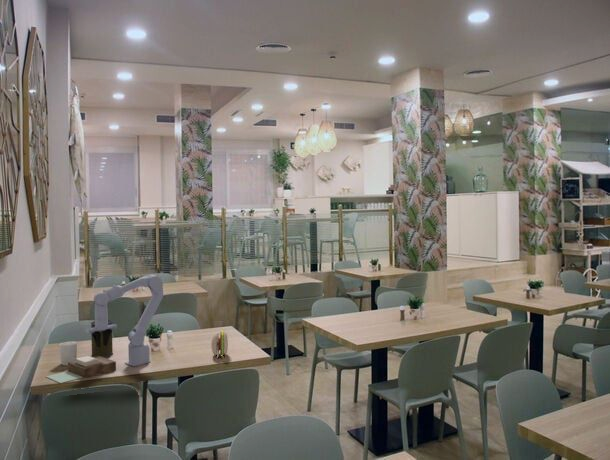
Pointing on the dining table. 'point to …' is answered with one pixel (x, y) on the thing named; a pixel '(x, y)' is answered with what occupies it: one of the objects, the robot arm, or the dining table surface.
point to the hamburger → (219, 344)
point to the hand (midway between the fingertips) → (101, 346)
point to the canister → (102, 350)
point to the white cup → (68, 352)
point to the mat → (64, 377)
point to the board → (92, 367)
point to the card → (86, 361)
